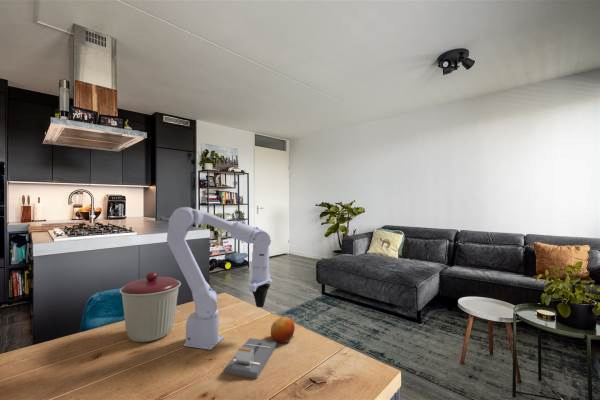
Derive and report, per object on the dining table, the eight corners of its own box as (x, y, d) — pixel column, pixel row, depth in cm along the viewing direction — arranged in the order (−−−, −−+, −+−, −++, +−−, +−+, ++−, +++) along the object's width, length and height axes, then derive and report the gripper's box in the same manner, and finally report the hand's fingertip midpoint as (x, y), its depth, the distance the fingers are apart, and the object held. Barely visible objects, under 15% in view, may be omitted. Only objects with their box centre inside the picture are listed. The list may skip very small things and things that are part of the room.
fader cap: (235, 364, 71) (236, 350, 71) (239, 359, 74) (240, 346, 74) (250, 367, 70) (250, 352, 70) (253, 361, 73) (253, 348, 73)
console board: (224, 373, 70) (224, 364, 70) (249, 342, 86) (249, 335, 86) (257, 378, 68) (257, 369, 68) (276, 346, 84) (276, 339, 84)
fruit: (297, 342, 84) (284, 319, 85) (276, 353, 85) (264, 330, 86) (302, 330, 92) (290, 309, 93) (283, 340, 93) (271, 319, 94)
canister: (190, 325, 98) (191, 267, 99) (155, 352, 80) (157, 281, 81) (146, 321, 101) (147, 265, 102) (103, 345, 84) (105, 277, 84)
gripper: (264, 271, 83) (263, 316, 83) (278, 262, 97) (277, 300, 97) (243, 270, 85) (242, 314, 84) (259, 261, 99) (259, 298, 99)
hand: (260, 306), depth 91 cm, fingers closed
